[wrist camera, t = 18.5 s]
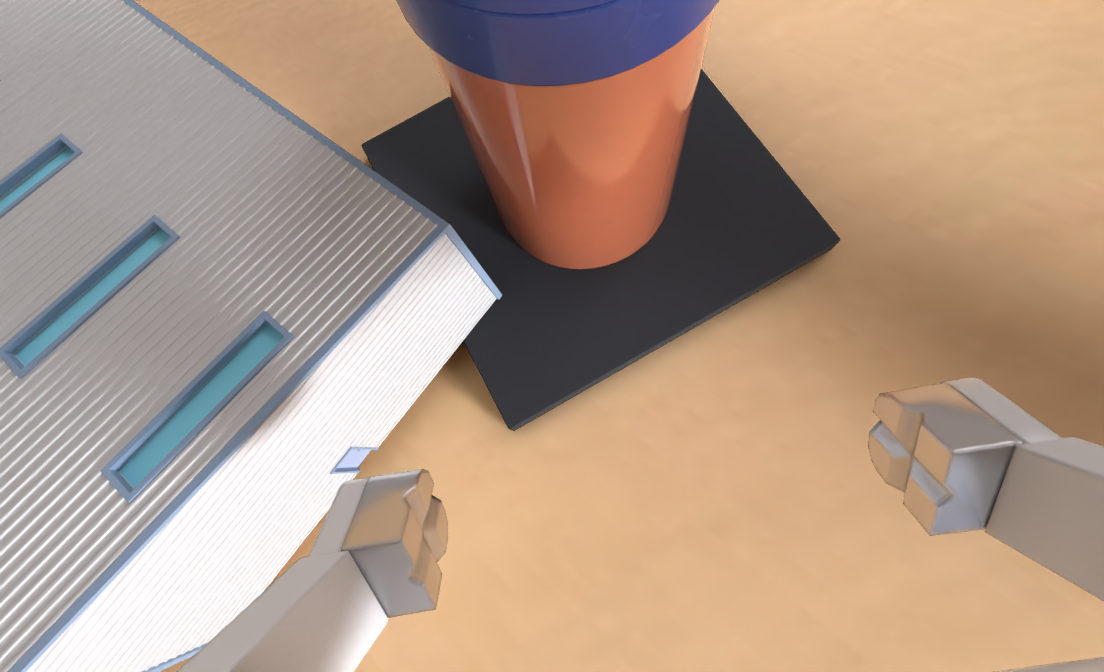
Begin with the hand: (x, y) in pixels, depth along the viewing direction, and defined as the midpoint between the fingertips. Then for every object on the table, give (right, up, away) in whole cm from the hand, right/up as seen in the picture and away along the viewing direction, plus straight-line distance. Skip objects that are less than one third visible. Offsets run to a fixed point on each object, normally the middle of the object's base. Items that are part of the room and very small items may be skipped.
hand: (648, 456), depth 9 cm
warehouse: (-20, +7, +12) cm, 24 cm away
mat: (-1, +8, +10) cm, 13 cm away
